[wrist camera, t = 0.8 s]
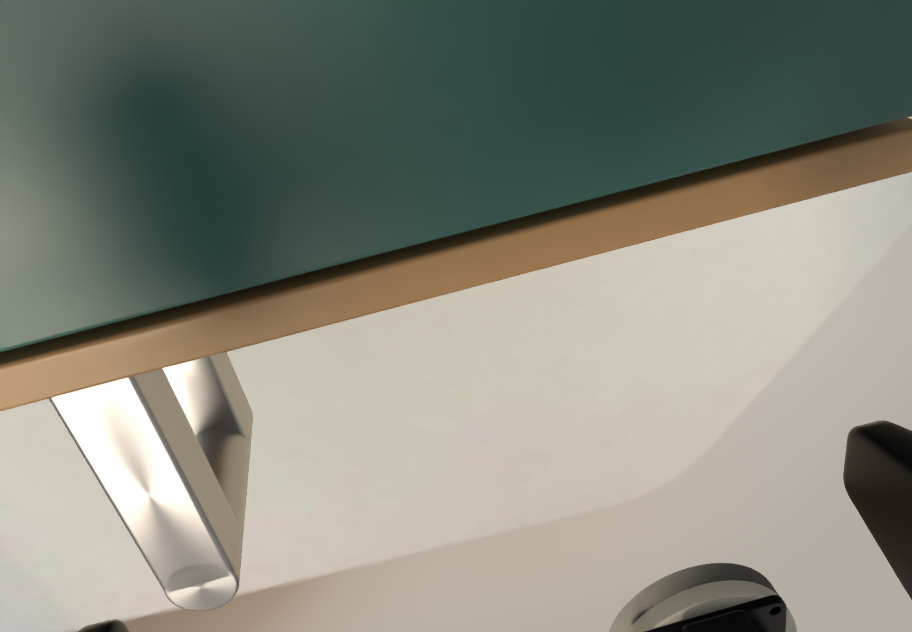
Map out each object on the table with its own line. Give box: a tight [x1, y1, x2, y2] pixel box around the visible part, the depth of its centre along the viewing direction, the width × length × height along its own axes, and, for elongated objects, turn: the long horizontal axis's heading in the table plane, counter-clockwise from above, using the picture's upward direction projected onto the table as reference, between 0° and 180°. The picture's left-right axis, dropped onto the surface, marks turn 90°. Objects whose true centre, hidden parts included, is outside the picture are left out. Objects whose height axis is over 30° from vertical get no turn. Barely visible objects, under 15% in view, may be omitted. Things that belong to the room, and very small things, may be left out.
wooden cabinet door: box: [0, 117, 912, 611], centre depth 18 cm, size 6×17×9 cm, turn 101°
